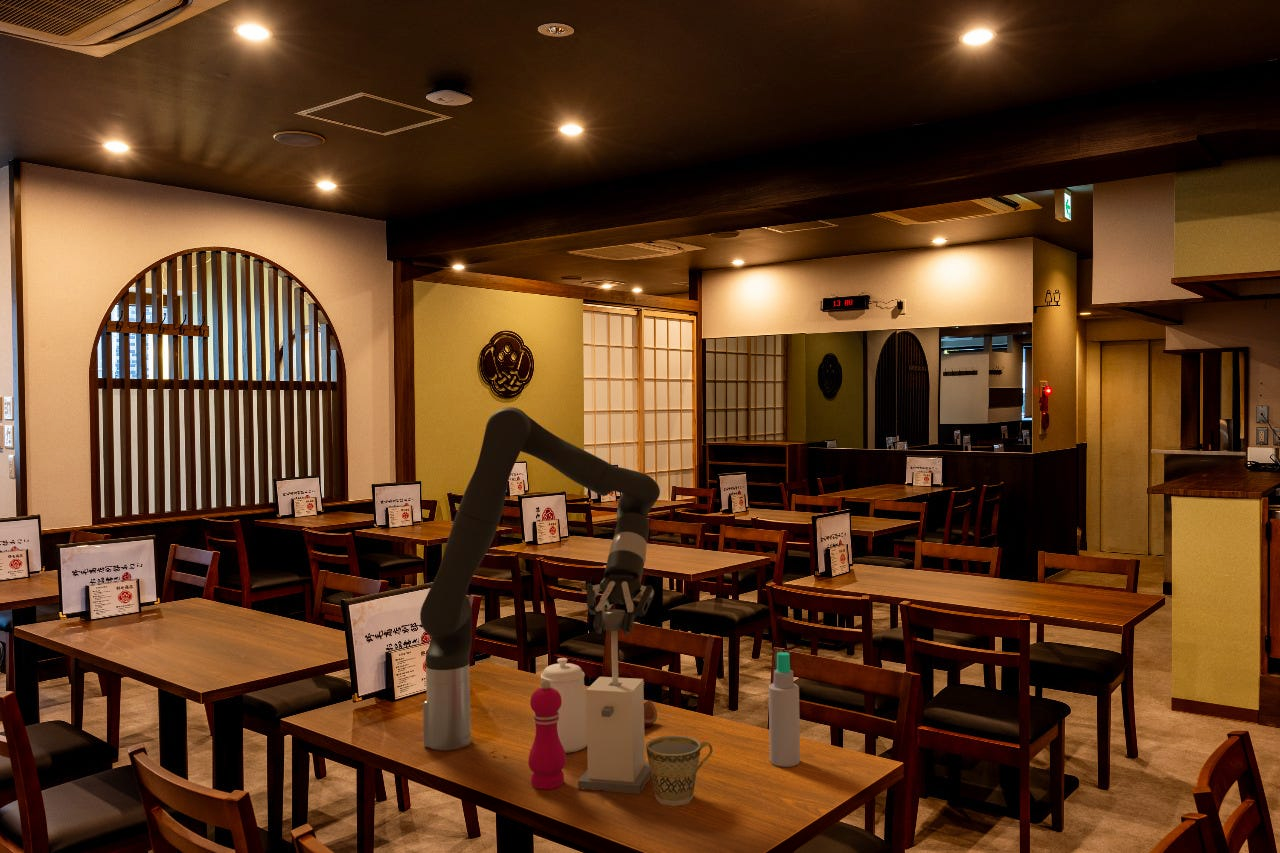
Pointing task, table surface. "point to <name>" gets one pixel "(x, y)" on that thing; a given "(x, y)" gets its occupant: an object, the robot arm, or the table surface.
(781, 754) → the spray bottle
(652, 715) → the fruit slice
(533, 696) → the pepper mill
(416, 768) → the table surface
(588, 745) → the dispenser
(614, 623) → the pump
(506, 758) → the table surface
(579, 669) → the coffeepot
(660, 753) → the ceramic cup
